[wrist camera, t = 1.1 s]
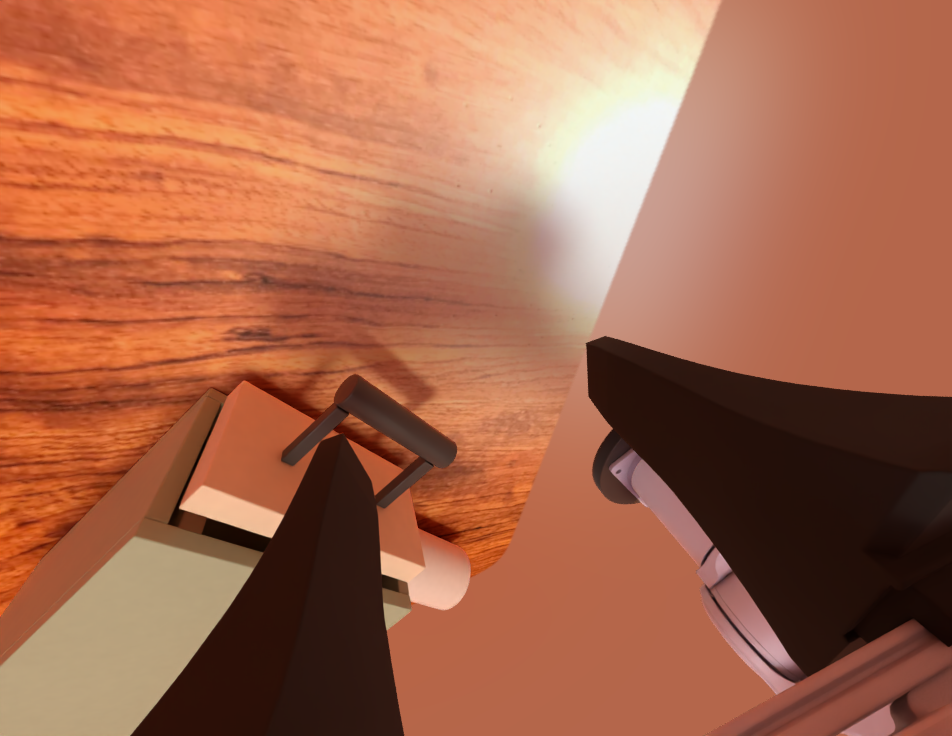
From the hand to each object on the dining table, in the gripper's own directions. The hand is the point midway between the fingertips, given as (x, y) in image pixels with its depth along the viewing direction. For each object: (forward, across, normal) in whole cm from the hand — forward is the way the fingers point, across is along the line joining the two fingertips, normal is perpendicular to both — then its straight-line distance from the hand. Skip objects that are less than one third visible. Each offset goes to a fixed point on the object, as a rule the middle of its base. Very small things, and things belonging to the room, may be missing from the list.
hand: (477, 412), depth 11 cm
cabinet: (+9, +14, +9) cm, 19 cm away
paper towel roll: (+9, +6, +17) cm, 21 cm away
